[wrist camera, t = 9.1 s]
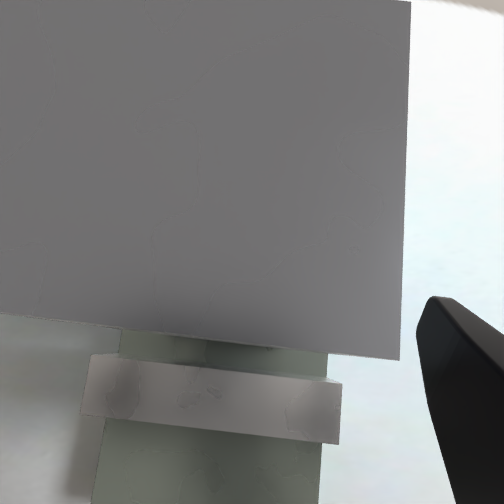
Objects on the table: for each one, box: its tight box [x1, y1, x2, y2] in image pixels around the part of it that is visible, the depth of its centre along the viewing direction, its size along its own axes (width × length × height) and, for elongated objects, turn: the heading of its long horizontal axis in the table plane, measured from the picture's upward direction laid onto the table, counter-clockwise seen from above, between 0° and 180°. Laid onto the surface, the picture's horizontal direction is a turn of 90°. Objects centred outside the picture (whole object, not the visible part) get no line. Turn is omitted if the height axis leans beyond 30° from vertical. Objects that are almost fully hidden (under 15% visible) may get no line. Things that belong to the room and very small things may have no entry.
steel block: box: [0, 0, 411, 361], centre depth 11 cm, size 4×5×14 cm
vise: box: [80, 329, 342, 504], centre depth 17 cm, size 18×9×4 cm, turn 174°
